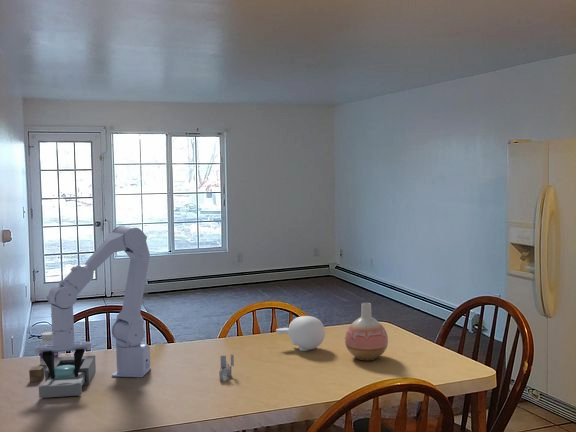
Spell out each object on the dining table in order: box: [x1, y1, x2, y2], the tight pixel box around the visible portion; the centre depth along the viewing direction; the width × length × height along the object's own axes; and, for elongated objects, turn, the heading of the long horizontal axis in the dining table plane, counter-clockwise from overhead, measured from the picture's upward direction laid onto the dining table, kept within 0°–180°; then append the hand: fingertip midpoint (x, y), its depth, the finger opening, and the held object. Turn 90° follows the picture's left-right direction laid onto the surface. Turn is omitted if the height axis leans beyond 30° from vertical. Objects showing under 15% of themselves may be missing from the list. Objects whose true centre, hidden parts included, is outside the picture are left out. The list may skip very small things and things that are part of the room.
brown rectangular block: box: [28, 365, 45, 383], centre depth 179 cm, size 3×3×4 cm
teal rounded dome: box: [54, 365, 75, 378], centre depth 171 cm, size 6×6×2 cm
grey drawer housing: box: [44, 355, 97, 386], centre depth 179 cm, size 12×12×5 cm
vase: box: [344, 302, 389, 362], centre depth 195 cm, size 14×14×18 cm
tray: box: [38, 372, 86, 399], centre depth 170 cm, size 11×12×3 cm
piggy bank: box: [275, 315, 326, 352], centre depth 206 cm, size 12×12×15 cm
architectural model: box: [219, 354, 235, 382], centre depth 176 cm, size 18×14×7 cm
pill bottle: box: [39, 331, 59, 366], centre depth 194 cm, size 5×5×10 cm
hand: (64, 376), depth 171 cm, fingers closed on teal rounded dome, 6 cm apart
